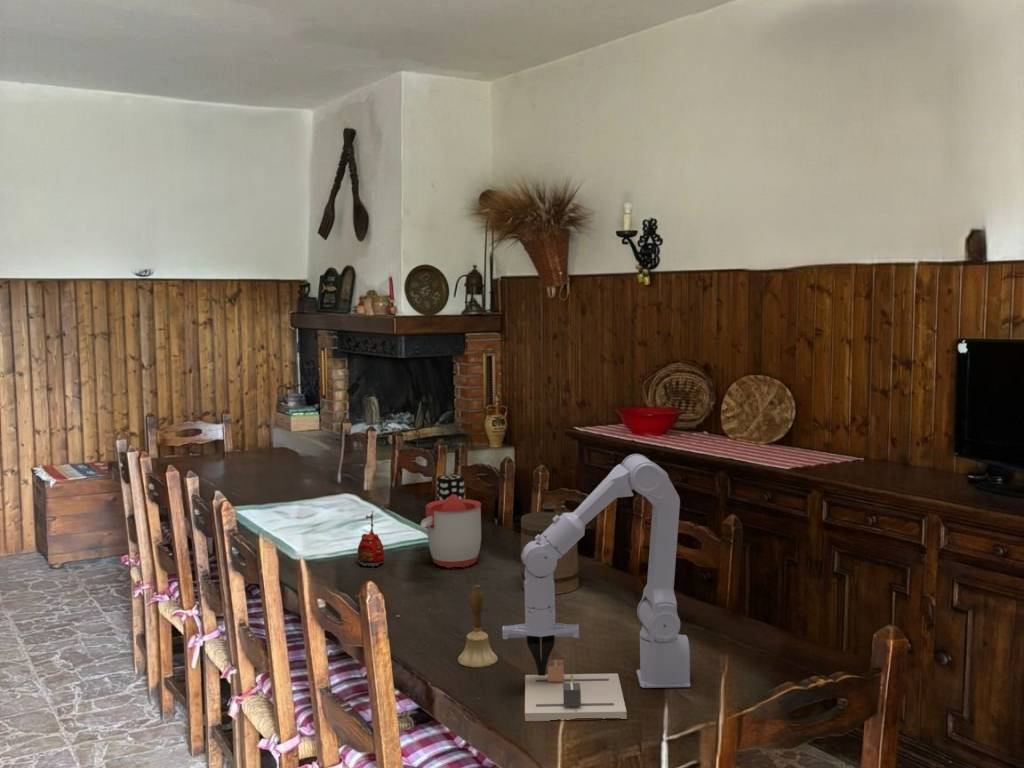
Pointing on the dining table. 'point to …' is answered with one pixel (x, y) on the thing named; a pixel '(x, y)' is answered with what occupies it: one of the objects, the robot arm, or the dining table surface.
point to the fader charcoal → (571, 694)
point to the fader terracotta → (555, 670)
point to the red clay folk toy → (370, 547)
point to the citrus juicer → (453, 531)
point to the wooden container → (566, 565)
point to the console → (596, 697)
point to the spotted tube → (450, 486)
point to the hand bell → (477, 637)
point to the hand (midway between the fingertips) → (541, 673)
